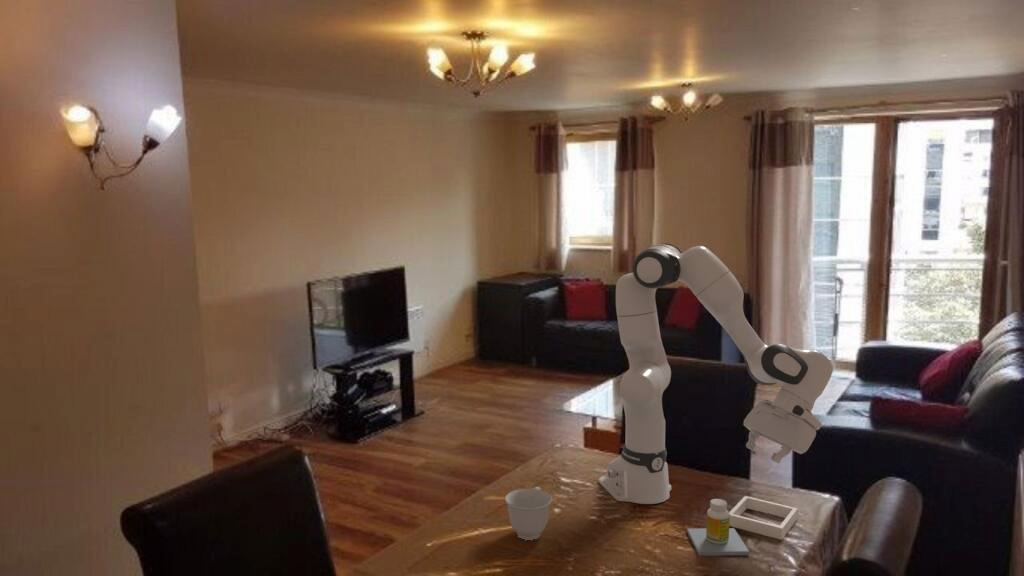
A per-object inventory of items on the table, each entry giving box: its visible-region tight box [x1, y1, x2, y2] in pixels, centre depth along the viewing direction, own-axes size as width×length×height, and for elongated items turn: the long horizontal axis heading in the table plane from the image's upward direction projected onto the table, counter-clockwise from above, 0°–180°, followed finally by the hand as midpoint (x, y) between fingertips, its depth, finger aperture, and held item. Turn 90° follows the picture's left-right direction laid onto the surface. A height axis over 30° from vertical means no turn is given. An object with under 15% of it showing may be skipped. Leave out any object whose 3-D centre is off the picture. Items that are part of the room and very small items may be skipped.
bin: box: [729, 495, 799, 541], centre depth 195 cm, size 14×14×3 cm
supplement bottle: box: [705, 498, 730, 544], centre depth 183 cm, size 5×5×10 cm
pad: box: [686, 527, 750, 557], centre depth 184 cm, size 12×12×1 cm
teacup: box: [504, 486, 553, 541], centre depth 189 cm, size 12×15×10 cm
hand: (761, 454), depth 188 cm, fingers open, 8 cm apart
